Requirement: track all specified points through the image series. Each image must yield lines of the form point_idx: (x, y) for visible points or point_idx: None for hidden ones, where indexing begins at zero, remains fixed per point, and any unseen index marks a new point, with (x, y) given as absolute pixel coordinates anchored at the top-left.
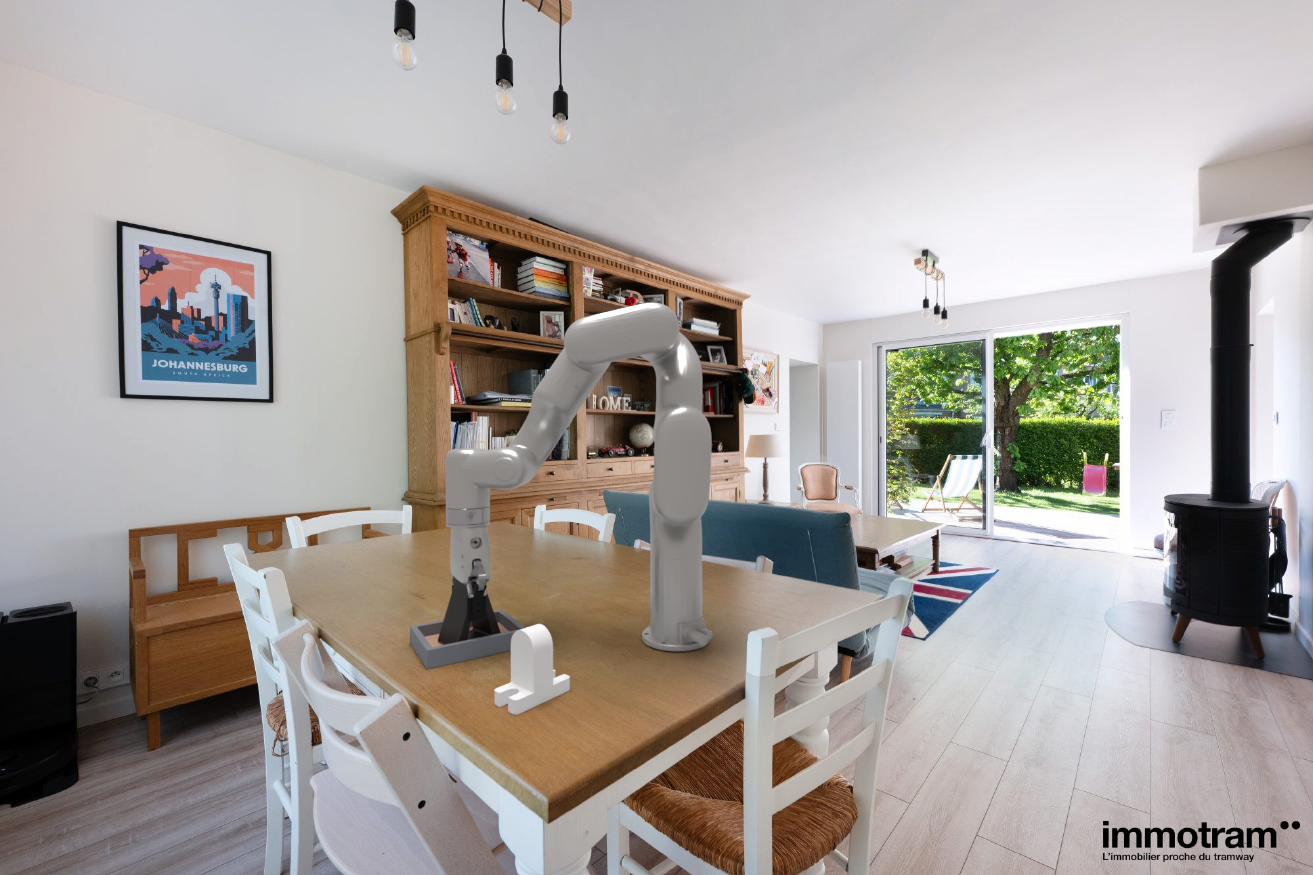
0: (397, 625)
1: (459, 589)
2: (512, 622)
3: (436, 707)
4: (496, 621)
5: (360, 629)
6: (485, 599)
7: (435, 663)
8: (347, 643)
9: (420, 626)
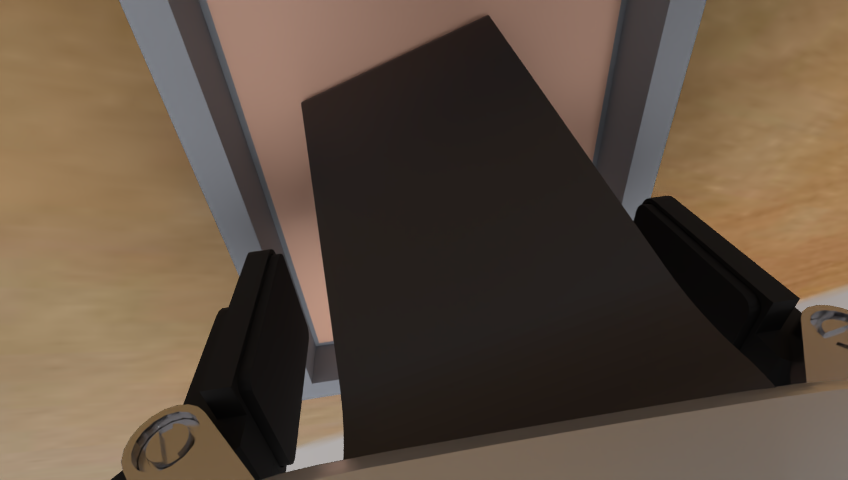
0: (54, 386)
1: None
2: None
3: (816, 290)
4: (523, 68)
5: (90, 459)
6: (765, 277)
7: None
8: None
9: (307, 373)
